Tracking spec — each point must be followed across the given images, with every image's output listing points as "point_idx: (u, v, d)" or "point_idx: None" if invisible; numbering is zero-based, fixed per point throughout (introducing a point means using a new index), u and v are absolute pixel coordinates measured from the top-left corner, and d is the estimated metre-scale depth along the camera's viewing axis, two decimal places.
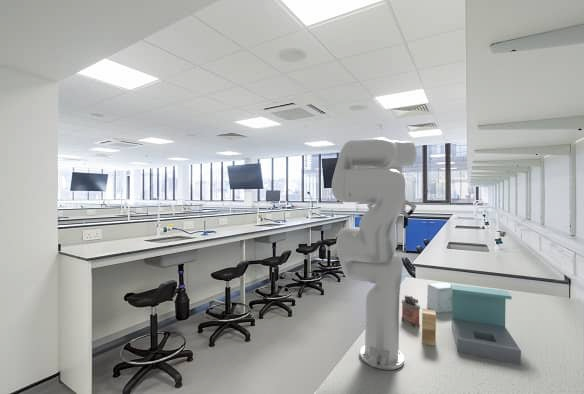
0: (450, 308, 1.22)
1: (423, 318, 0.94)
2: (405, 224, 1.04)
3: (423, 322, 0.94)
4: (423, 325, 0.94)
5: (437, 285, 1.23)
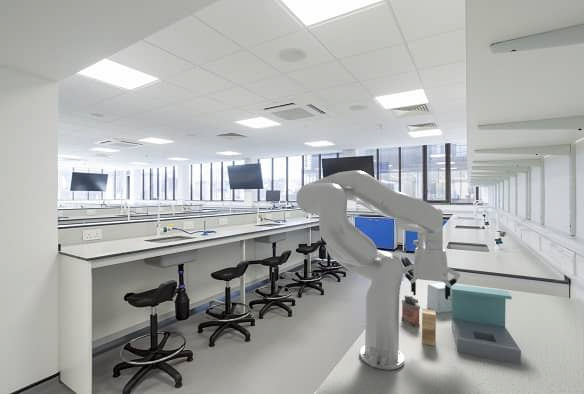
0: (450, 308, 1.22)
1: (423, 318, 0.94)
2: (447, 295, 0.93)
3: (423, 322, 0.94)
4: (423, 325, 0.94)
5: (437, 285, 1.23)
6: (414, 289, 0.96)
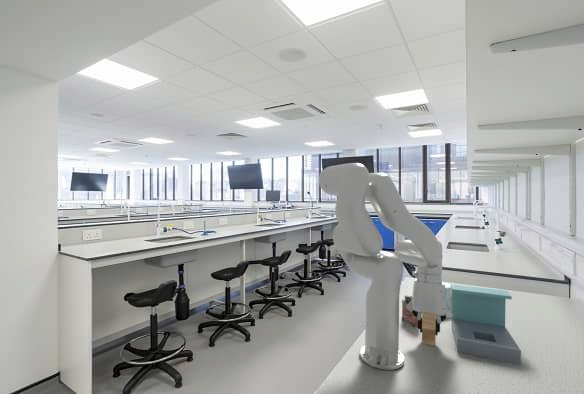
0: (450, 308, 1.22)
1: (423, 318, 0.94)
2: (437, 331, 0.93)
3: (423, 322, 0.94)
4: (423, 325, 0.94)
5: None
6: (421, 326, 0.95)
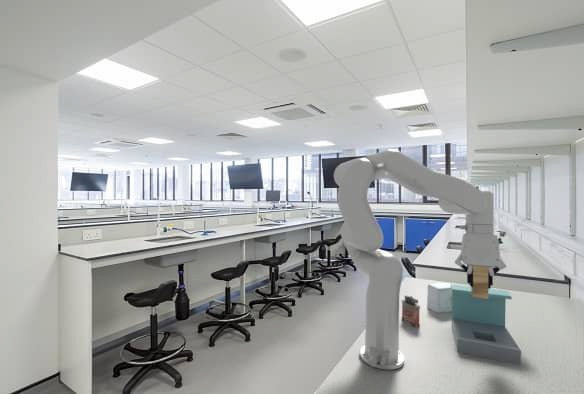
0: (450, 308, 1.22)
1: (474, 271, 0.91)
2: (490, 284, 0.90)
3: (475, 275, 0.91)
4: (474, 278, 0.91)
5: (437, 285, 1.23)
6: (472, 280, 0.91)
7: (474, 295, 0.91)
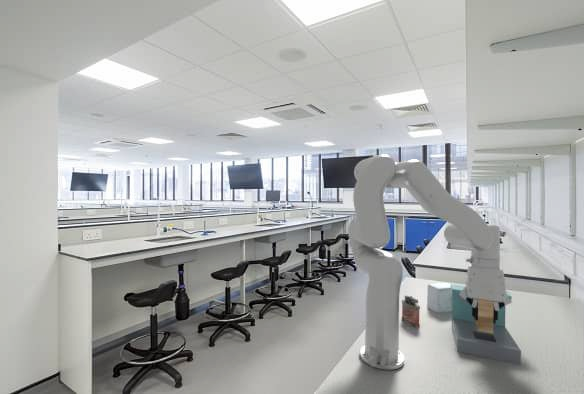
0: (450, 308, 1.22)
1: (479, 305, 0.90)
2: (495, 319, 0.89)
3: (480, 309, 0.90)
4: (479, 312, 0.90)
5: (437, 285, 1.23)
6: (477, 314, 0.91)
7: (479, 329, 0.90)
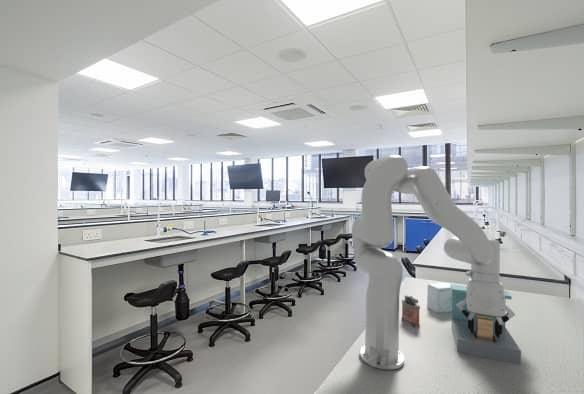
0: (450, 308, 1.22)
1: (479, 324, 0.90)
2: (499, 333, 0.89)
3: (479, 328, 0.90)
4: (479, 332, 0.90)
5: (437, 285, 1.23)
6: (472, 326, 0.91)
7: None
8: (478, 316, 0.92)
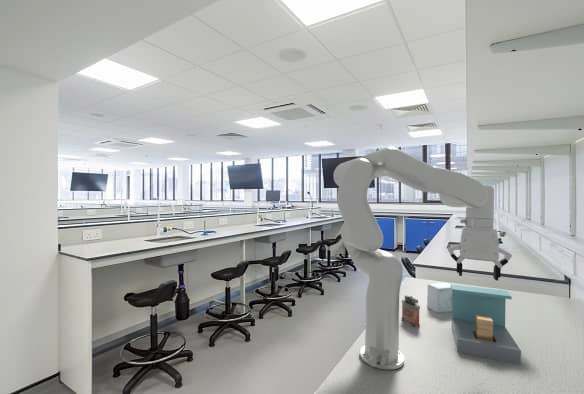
0: (450, 308, 1.22)
1: (479, 324, 0.90)
2: (498, 276, 0.89)
3: (479, 328, 0.90)
4: (479, 332, 0.90)
5: (437, 285, 1.23)
6: (461, 269, 0.92)
7: None
8: (478, 316, 0.92)
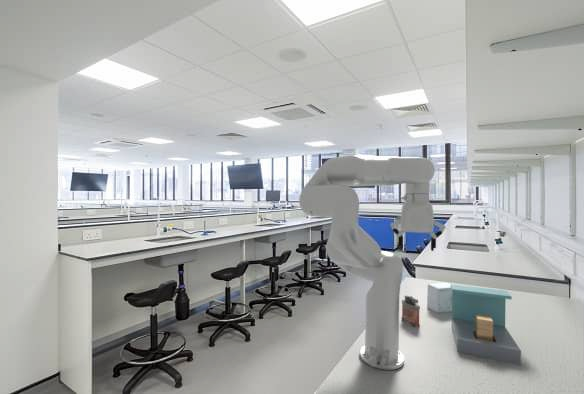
0: (450, 308, 1.22)
1: (479, 324, 0.90)
2: (433, 246, 0.95)
3: (479, 328, 0.90)
4: (479, 332, 0.90)
5: (437, 285, 1.23)
6: (401, 242, 0.99)
7: None
8: (478, 316, 0.92)
